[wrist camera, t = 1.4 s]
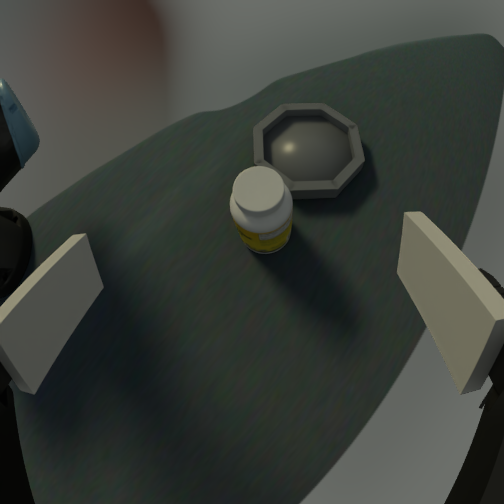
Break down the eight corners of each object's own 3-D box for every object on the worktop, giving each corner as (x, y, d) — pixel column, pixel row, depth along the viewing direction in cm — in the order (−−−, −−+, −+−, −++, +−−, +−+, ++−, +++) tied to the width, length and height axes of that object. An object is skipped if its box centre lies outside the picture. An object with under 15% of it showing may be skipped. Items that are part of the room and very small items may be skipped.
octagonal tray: (256, 201, 40) (254, 192, 38) (254, 116, 44) (252, 105, 42) (366, 197, 39) (370, 188, 37) (348, 113, 43) (351, 103, 41)
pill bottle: (233, 217, 40) (215, 171, 29) (280, 200, 40) (277, 149, 29) (250, 263, 38) (236, 229, 27) (299, 244, 38) (304, 204, 28)
